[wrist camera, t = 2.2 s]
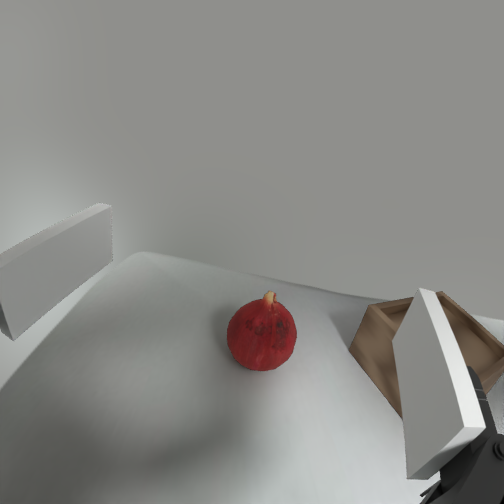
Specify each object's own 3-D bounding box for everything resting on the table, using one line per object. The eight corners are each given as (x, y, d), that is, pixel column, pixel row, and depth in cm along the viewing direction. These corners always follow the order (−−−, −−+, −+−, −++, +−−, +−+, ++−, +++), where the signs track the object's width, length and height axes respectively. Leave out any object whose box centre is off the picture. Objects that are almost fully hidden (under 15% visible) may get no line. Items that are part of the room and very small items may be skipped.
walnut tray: (485, 394, 26) (514, 356, 23) (420, 442, 21) (458, 400, 18) (422, 329, 36) (441, 291, 33) (348, 350, 31) (368, 304, 29)
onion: (296, 380, 27) (322, 311, 23) (237, 395, 24) (253, 324, 21) (268, 339, 31) (285, 271, 28) (214, 348, 29) (223, 277, 25)
